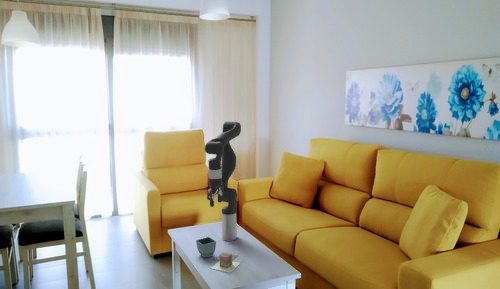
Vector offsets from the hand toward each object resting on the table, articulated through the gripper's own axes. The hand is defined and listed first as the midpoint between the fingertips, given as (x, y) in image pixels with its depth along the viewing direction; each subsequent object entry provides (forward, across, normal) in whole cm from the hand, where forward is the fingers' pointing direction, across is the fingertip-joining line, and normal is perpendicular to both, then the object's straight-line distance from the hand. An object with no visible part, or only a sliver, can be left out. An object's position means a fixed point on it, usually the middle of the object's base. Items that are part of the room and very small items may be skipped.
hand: (215, 204), depth 216 cm
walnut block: (+30, +11, +12) cm, 34 cm away
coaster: (+30, +11, +12) cm, 34 cm away
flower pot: (+30, +4, -5) cm, 31 cm away
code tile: (+30, +2, +7) cm, 31 cm away
